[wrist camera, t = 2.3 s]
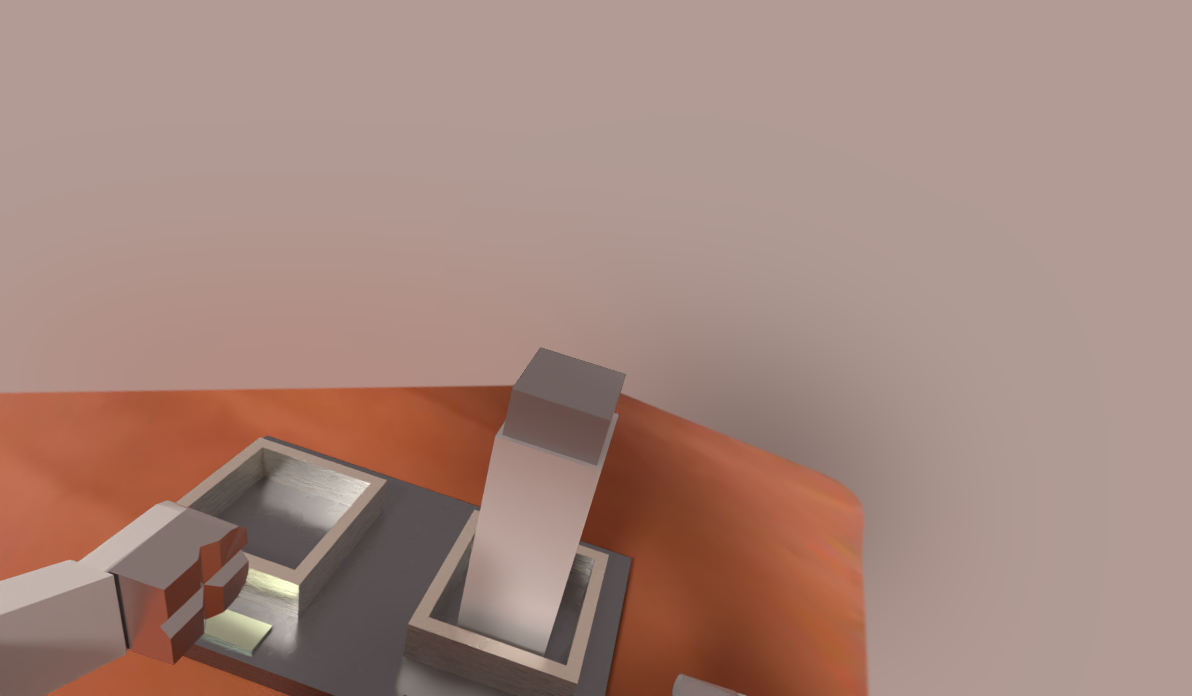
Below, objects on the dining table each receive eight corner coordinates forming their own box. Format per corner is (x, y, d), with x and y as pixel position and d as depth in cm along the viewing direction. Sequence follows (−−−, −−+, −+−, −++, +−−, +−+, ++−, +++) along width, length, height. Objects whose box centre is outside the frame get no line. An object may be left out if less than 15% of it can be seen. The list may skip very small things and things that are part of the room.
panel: (65, 612, 24) (54, 559, 23) (266, 449, 35) (266, 406, 34) (580, 802, 23) (599, 757, 22) (627, 570, 34) (641, 531, 32)
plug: (454, 636, 27) (504, 389, 21) (492, 558, 31) (542, 336, 25) (540, 667, 26) (615, 425, 21) (566, 583, 31) (634, 364, 25)
